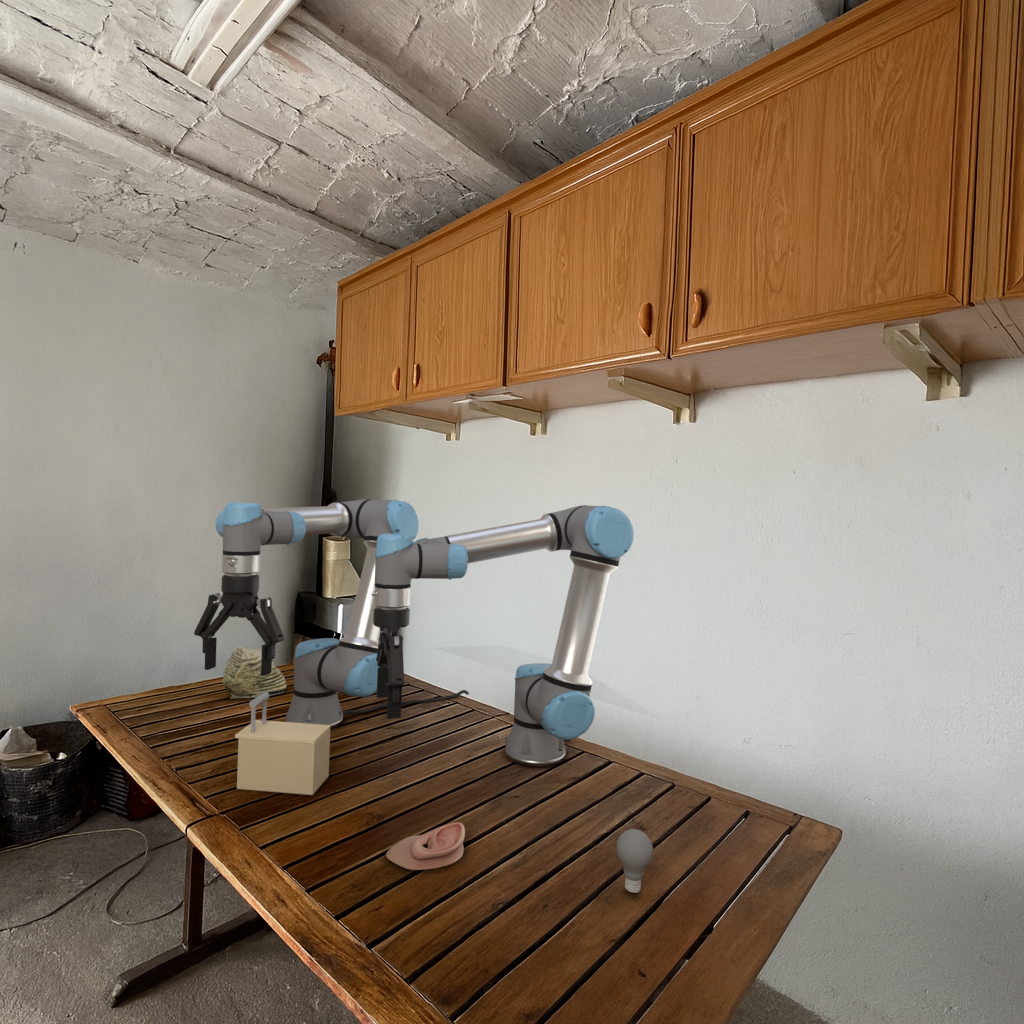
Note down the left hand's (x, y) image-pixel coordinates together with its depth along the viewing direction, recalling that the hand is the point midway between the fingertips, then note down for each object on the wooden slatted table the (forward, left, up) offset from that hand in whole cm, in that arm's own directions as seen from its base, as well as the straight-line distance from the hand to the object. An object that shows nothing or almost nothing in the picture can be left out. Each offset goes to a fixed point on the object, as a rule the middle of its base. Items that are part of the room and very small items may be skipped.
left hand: (237, 671), depth 138 cm
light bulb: (-25, +83, -25) cm, 91 cm away
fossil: (-34, -53, -25) cm, 68 cm away
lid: (-7, +7, -14) cm, 17 cm away
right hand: (-18, +29, -5) cm, 34 cm away
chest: (-8, +7, -25) cm, 27 cm away
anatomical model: (-9, +50, -25) cm, 57 cm away
